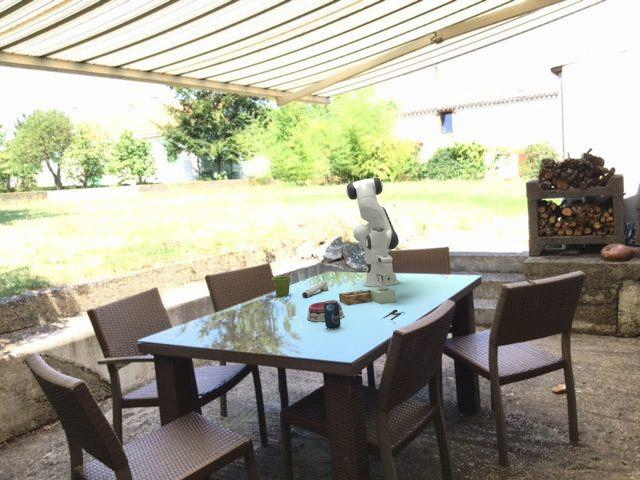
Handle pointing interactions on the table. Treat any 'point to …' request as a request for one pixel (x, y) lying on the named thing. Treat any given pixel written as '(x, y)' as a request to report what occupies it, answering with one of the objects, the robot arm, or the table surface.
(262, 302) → the table surface
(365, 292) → the block
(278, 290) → the plant pot
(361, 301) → the socket block
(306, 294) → the white elongated piece
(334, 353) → the table surface
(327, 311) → the soda can
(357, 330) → the table surface
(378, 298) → the square hole block
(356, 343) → the table surface
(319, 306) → the dog bowl
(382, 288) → the peg
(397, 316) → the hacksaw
